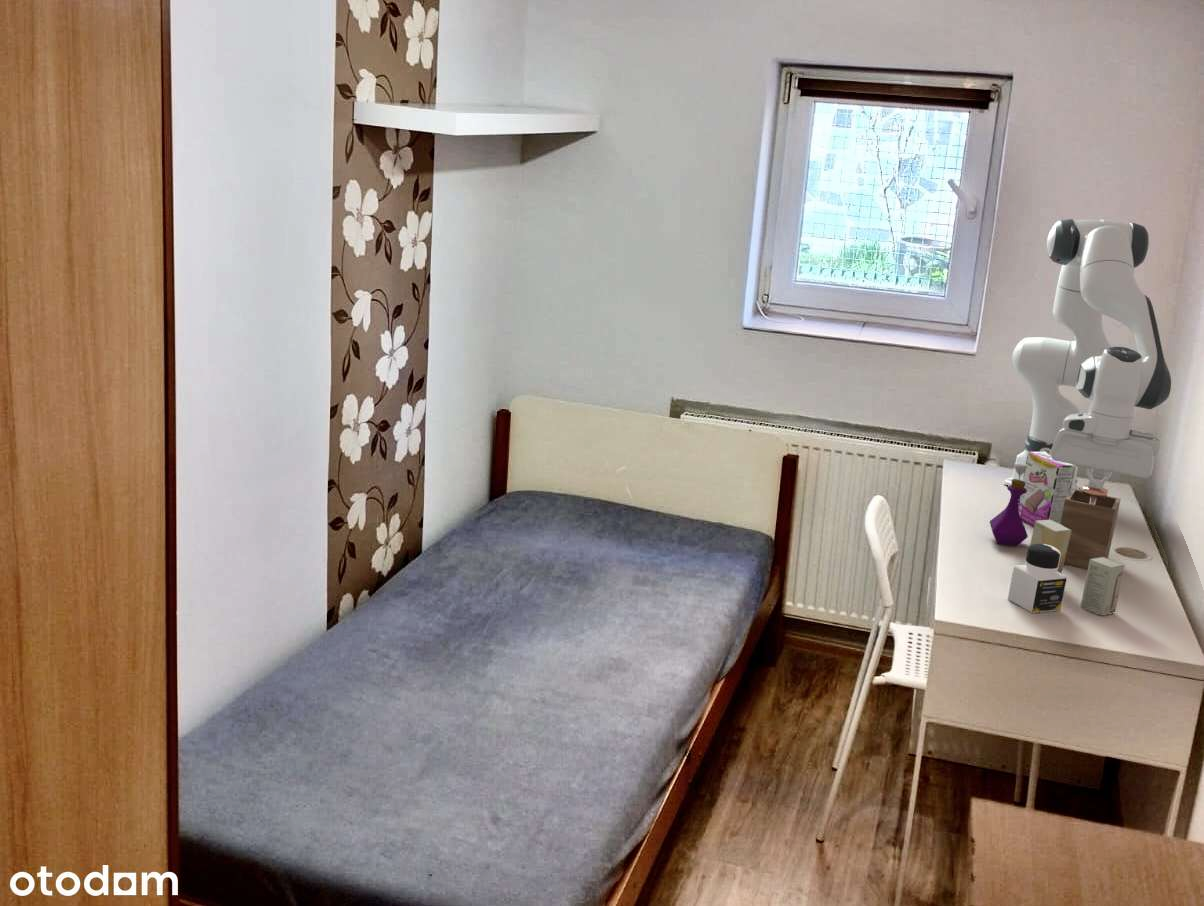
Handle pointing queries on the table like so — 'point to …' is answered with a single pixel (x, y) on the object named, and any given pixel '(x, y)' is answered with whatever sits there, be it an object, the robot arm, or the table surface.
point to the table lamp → (1094, 493)
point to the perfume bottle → (1011, 515)
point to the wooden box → (1088, 527)
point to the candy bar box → (1044, 488)
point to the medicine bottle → (1038, 580)
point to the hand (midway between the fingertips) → (1095, 488)
